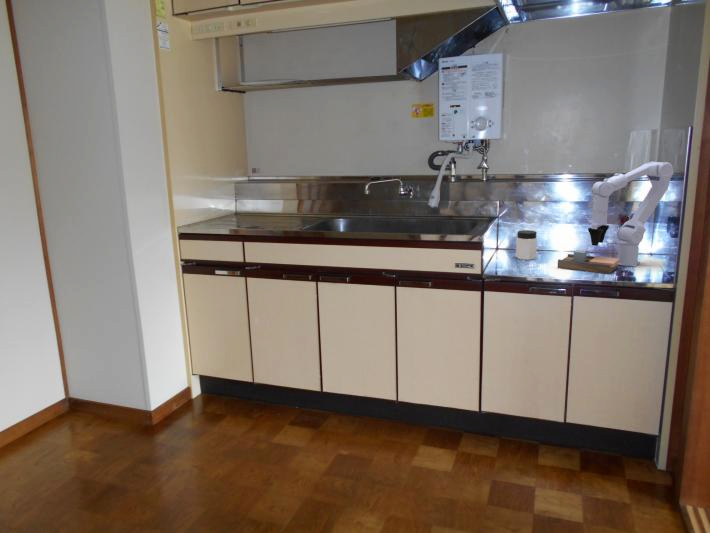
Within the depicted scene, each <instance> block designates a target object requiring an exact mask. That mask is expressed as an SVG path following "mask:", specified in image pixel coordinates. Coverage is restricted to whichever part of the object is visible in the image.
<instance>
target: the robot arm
mask: <svg viewBox="0 0 710 533" xmlns="http://www.w3.org/2000/svg"><path fill="white" fill-rule="evenodd" d="M673 168H674V167H673V165H672V164H671V163H670V162H667V161H664V162H663V161H662V162H661V161H653V160H652V161H649V162H646V163H643V164H642V165H641V166H639V167H636V168H634V169H633V170H631V171H629V172H627V173H625V174H623V173H617V172H616V173H614V174H613V176H611V177H609V178H604V179H603V181H596V182H595V183H593V185H592V188H590V192H591V194H592V212H591V213H592V214H591V220H589V221H588V224H591V227H588V228H587V231H588V233H589V236H590V239H591V245H592V246H599V243H601V244H602V243H603V242H604V241H605V240H604V239H605V236H606V234H607V231H608V230H609V228H610V225H608V210H609V198H610V196H611V195H612V194H613V192H616V191H617V190H620V189H622V188H624V187H627V186H628V183H629V182H631V181H634V180H637V179H640V178H642V177H644V176H646V177H647V179H648V180H649V182H650V184H651V188H650V189H649V190H648V193H647V194H646V196H645V197H644V199H643V200H642V202H641V204H639V206H638V208H637V210H636V211H635V213H634V214H633V216H632V217H631V219H629V220H627V221H625V222H624V224H623V225H622V226H620V227H619V228H618V229H617V230H616V238H617V239H618V244H619V245H618V256H617V258H619V259H620V262H619V263H618V266H625V267H626V266H627V267H637V266H638V265H639V264H640V263H641V261H639V260H638V259H639V250H640V249H639V245H640V243H642V241H643V239H644V235H645V233H646V228H645V225H646V223H647V222H648V220H649V218H650V217H651V215H652V213H653V212H654V211H655V209H656V208H657V206H658V204H659V203H660V201H661V200H662V199H663V197H664V195H665V194H666V192H667V191H668V189H669V187H670V182H671V178H672V177H673V175H674V169H673Z"/></svg>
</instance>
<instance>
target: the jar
mask: <svg viewBox="0 0 710 533" xmlns="http://www.w3.org/2000/svg"><path fill="white" fill-rule="evenodd" d="M537 235H538V234H537V231H535V230H529V229H528V230H527V229H523V230H518V231H517V235H516V236H517V237H516V239H515V240H516V242H515V258H516V259H518V260H524V261H525V260H526V261H531V260H536V259H537V248H538V237H537Z"/></svg>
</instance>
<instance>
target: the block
mask: <svg viewBox="0 0 710 533" xmlns="http://www.w3.org/2000/svg"><path fill="white" fill-rule="evenodd" d="M573 254H574V260H573V261H577V262H586V257H587V256H588V255H587V254H588V253H587V250H579V249H577V250H575V251H574V252H573Z"/></svg>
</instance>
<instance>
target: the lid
mask: <svg viewBox="0 0 710 533" xmlns="http://www.w3.org/2000/svg"><path fill="white" fill-rule="evenodd" d="M594 257H595V258H593V259H592V260H590V261H589V263H595V264H604V265H610V267H614V266H615V265H617V264H618V263H619V262H620V259H619V258H618V257H609V256H600V255H596V256H594Z"/></svg>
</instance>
